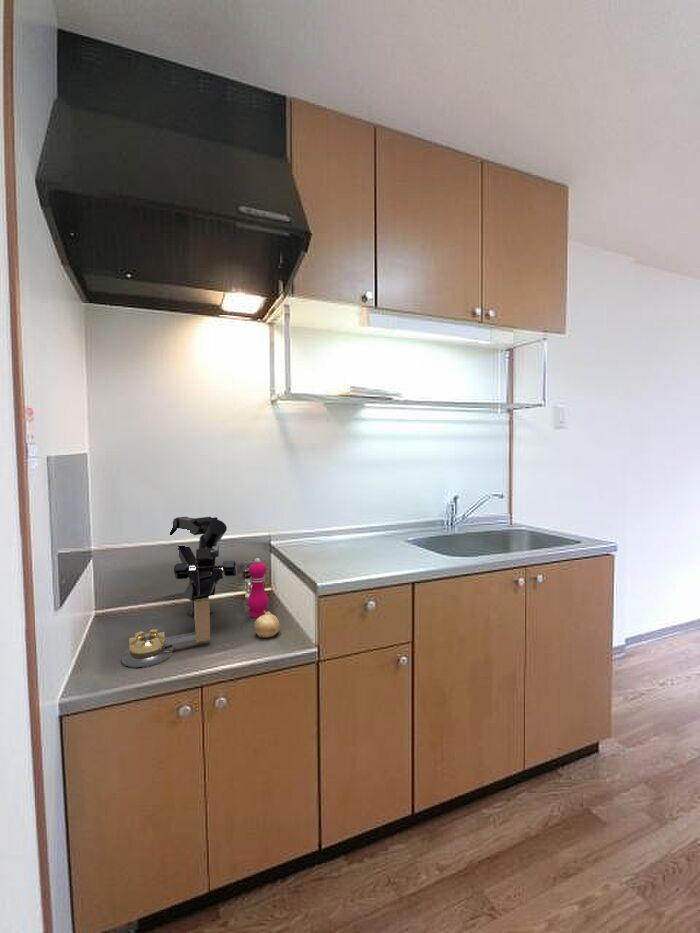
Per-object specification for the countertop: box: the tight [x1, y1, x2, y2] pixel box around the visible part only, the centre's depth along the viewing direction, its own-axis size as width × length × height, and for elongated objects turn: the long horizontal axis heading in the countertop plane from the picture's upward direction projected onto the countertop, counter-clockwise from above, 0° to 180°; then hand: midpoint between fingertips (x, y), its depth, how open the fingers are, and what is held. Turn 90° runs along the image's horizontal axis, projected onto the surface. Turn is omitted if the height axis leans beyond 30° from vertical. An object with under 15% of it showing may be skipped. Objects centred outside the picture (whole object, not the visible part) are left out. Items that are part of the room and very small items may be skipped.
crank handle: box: [128, 598, 211, 658], centre depth 127 cm, size 22×9×12 cm, turn 116°
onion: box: [253, 610, 280, 639], centre depth 138 cm, size 8×8×7 cm
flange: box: [121, 644, 173, 669], centre depth 124 cm, size 13×13×2 cm
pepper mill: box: [247, 557, 269, 619], centre depth 153 cm, size 7×7×20 cm
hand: (204, 594), depth 135 cm, fingers open, 3 cm apart
